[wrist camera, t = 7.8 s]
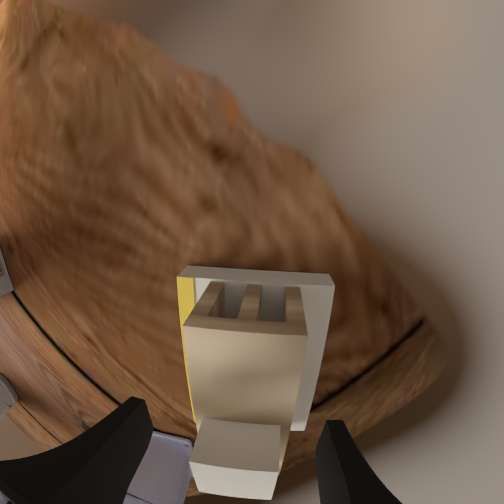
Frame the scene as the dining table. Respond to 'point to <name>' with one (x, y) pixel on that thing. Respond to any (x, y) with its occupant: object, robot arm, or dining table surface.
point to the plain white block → (236, 458)
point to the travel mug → (6, 396)
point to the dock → (269, 313)
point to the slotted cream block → (245, 360)
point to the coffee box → (4, 278)
